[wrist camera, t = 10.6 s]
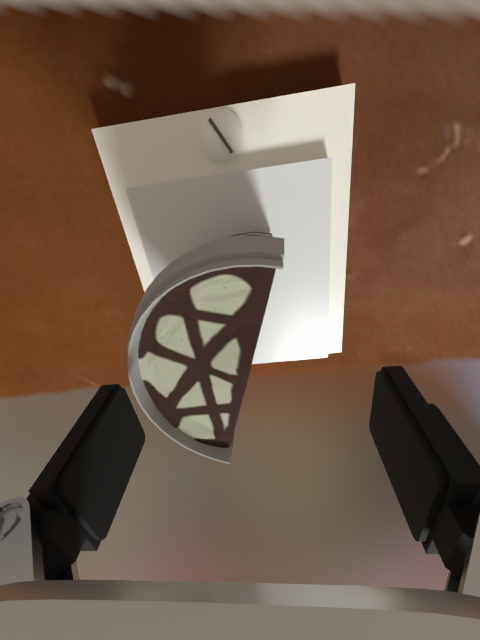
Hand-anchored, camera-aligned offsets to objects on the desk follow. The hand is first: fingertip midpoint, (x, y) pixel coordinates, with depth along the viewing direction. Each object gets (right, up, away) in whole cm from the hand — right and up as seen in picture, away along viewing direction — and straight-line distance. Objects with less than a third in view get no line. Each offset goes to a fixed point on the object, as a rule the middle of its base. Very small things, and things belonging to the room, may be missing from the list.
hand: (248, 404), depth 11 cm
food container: (-2, +6, +11) cm, 12 cm away
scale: (0, +9, +13) cm, 16 cm away
